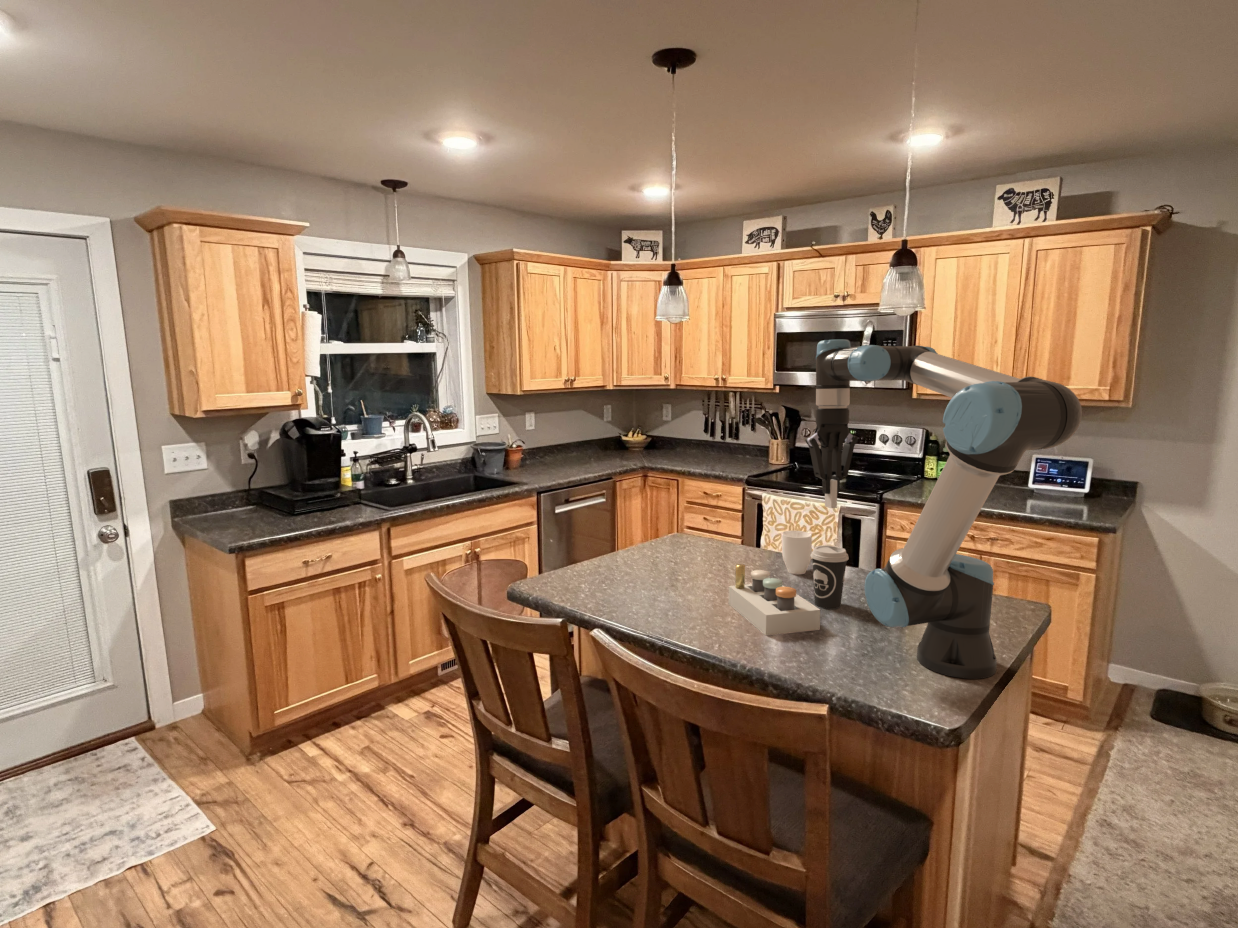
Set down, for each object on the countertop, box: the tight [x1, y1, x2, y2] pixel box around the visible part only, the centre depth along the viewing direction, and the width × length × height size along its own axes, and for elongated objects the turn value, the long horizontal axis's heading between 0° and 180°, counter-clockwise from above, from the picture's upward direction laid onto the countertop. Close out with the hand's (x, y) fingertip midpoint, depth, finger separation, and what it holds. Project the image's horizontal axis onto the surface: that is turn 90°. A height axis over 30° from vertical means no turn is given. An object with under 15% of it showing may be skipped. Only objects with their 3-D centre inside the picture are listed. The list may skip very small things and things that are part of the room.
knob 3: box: [776, 586, 797, 611], centre depth 166 cm, size 5×5×9 cm
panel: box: [728, 583, 821, 637], centre depth 173 cm, size 22×14×5 cm, turn 14°
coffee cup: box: [810, 544, 849, 610], centre depth 181 cm, size 10×10×15 cm
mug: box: [781, 530, 813, 575], centre depth 210 cm, size 12×9×12 cm
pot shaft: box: [734, 563, 746, 589], centre depth 180 cm, size 2×2×6 cm
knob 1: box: [750, 569, 771, 592], centre depth 180 cm, size 5×5×9 cm
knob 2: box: [763, 577, 784, 601], centre depth 173 cm, size 5×5×9 cm
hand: (830, 507), depth 164 cm, fingers closed
